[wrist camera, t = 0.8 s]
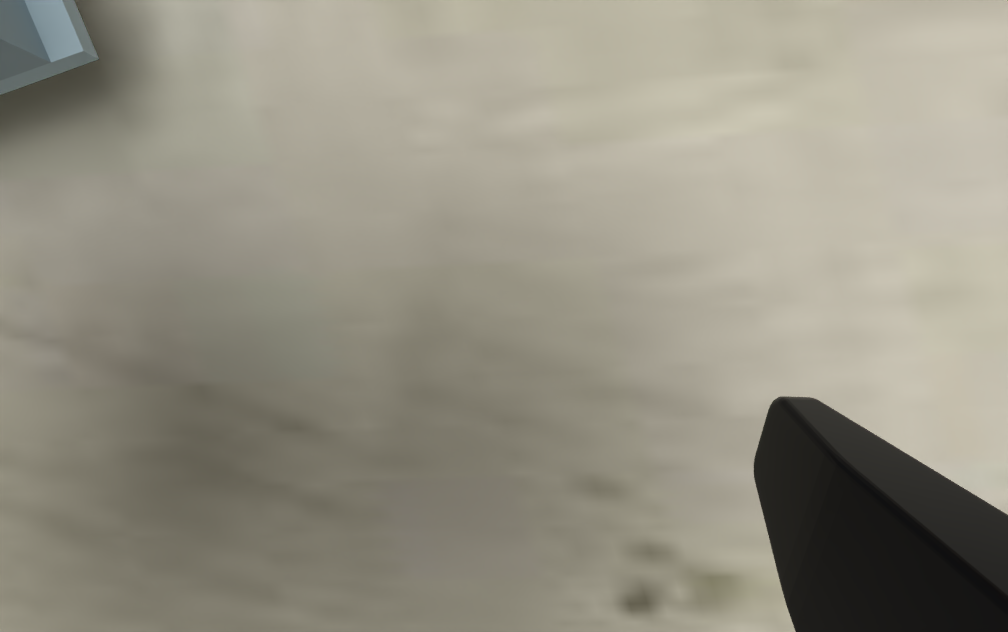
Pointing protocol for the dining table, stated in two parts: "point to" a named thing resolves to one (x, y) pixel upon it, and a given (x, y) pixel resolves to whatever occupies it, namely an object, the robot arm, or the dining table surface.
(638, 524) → the dining table surface
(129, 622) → the dining table surface
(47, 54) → the lid
